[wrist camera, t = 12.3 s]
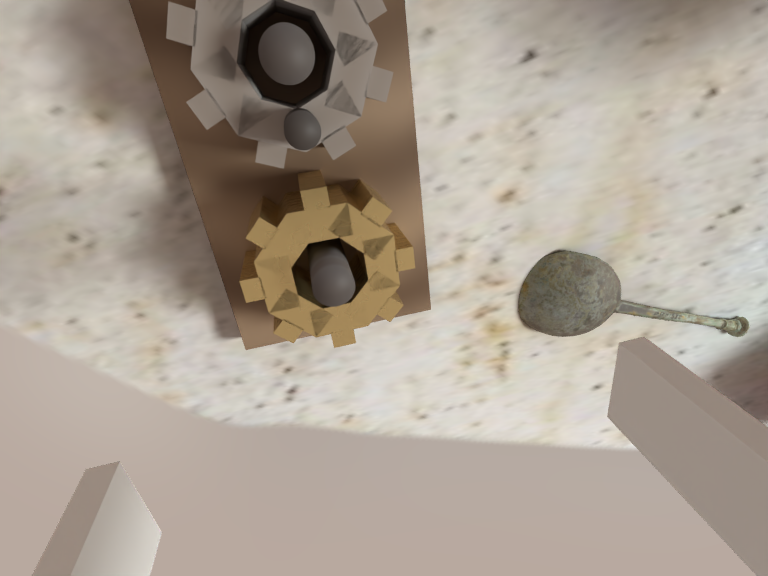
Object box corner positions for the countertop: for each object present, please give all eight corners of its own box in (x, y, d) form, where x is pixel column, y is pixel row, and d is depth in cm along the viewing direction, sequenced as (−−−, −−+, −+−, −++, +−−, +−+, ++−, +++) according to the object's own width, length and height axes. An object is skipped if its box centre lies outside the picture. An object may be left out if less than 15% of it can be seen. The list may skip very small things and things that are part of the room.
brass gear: (226, 185, 22) (215, 206, 19) (387, 158, 23) (405, 172, 20) (267, 324, 26) (265, 363, 23) (403, 296, 27) (421, 328, 24)
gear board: (114, -71, 18) (20, -153, 12) (387, -96, 20) (439, -181, 13) (247, 337, 28) (236, 417, 21) (424, 299, 30) (464, 362, 23)
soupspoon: (532, 233, 30) (495, 311, 33) (556, 252, 27) (513, 336, 30) (754, 290, 36) (707, 353, 39) (793, 311, 33) (740, 377, 36)
